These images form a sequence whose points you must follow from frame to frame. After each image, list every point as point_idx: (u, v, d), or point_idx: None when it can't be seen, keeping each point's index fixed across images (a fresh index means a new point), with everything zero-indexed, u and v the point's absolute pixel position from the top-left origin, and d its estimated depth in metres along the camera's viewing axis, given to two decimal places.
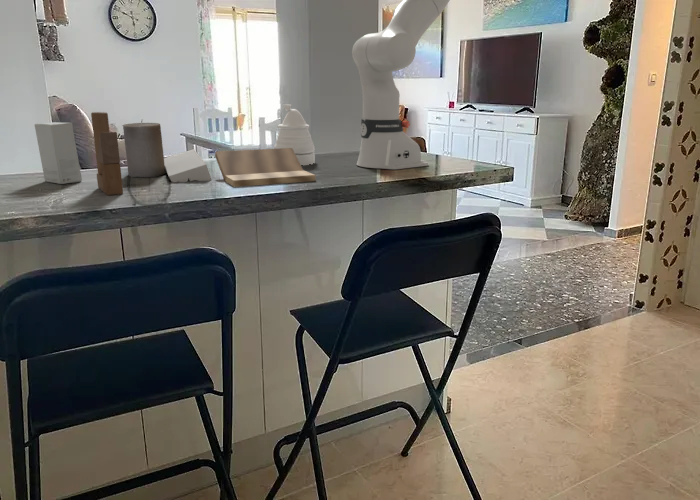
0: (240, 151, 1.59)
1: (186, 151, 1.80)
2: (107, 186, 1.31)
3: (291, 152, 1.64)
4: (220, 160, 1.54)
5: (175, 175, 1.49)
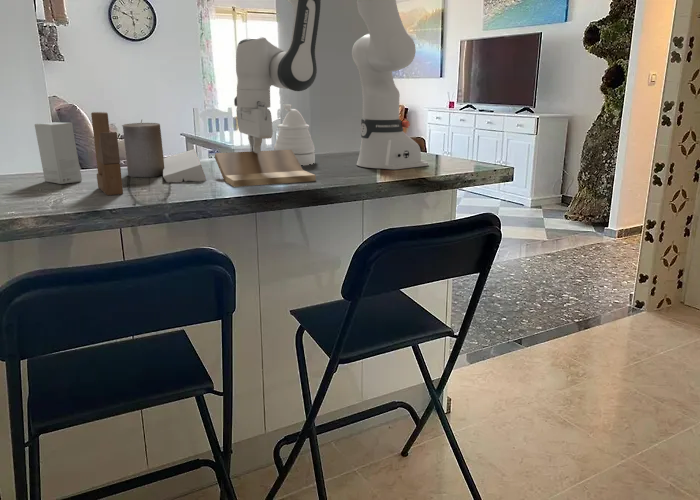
0: (240, 152, 1.59)
1: (186, 151, 1.80)
2: (107, 186, 1.31)
3: (290, 153, 1.64)
4: (220, 161, 1.54)
5: (170, 175, 1.49)
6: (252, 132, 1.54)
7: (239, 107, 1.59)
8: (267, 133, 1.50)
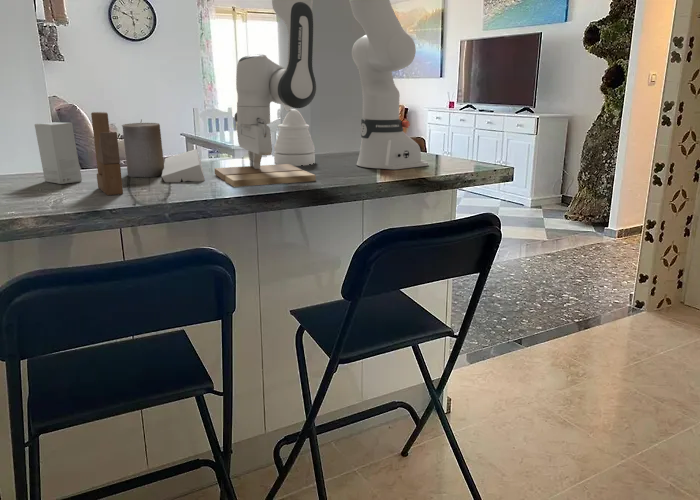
0: (239, 167, 1.62)
1: (188, 151, 1.80)
2: (107, 186, 1.31)
3: (288, 165, 1.67)
4: (219, 170, 1.56)
5: (168, 175, 1.49)
6: (252, 148, 1.56)
7: None
8: (267, 150, 1.51)
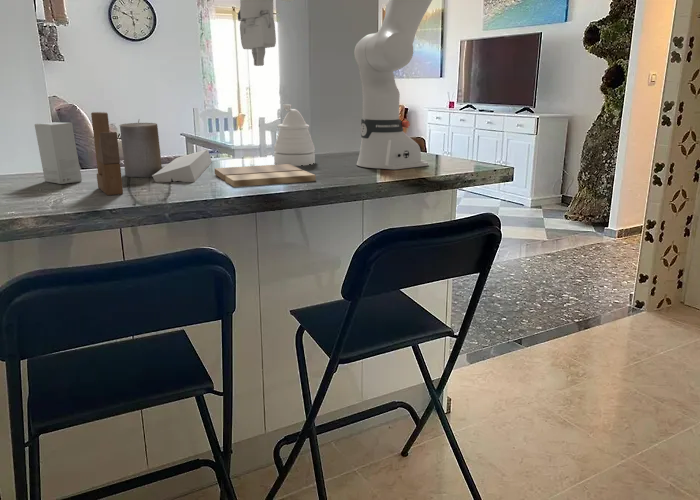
0: (239, 167, 1.62)
1: (199, 151, 1.81)
2: (107, 186, 1.31)
3: (288, 165, 1.67)
4: (219, 170, 1.56)
5: (158, 175, 1.49)
6: (255, 43, 1.56)
7: (242, 20, 1.61)
8: (271, 41, 1.51)
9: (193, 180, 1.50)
